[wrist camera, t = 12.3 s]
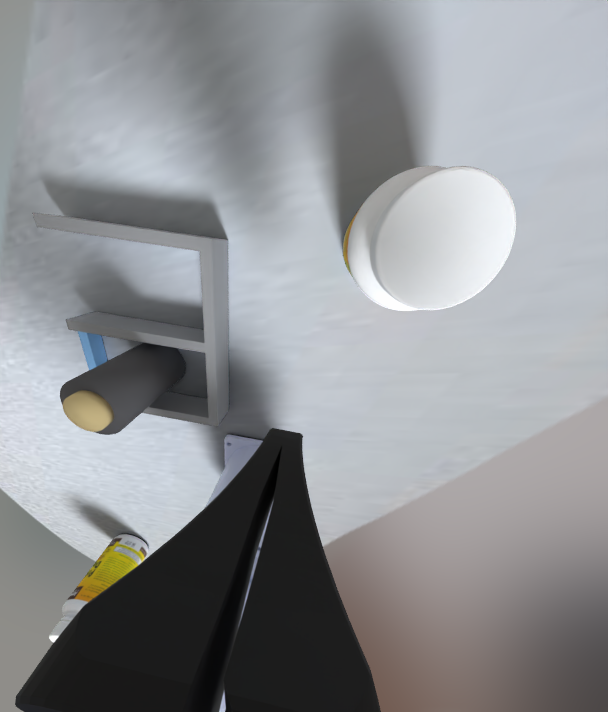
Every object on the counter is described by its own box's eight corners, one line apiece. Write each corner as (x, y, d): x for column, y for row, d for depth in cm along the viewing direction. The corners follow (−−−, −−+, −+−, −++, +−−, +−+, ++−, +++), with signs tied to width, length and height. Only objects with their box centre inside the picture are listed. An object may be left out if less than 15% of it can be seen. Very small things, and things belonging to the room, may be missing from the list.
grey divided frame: (229, 409, 23) (217, 426, 21) (106, 387, 24) (83, 401, 22) (227, 239, 17) (211, 238, 15) (61, 215, 18) (20, 211, 15)
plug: (187, 386, 23) (124, 446, 16) (143, 377, 23) (61, 433, 16) (183, 343, 21) (110, 391, 14) (135, 335, 21) (40, 378, 14)
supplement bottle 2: (328, 265, 17) (321, 288, 8) (369, 181, 15) (423, 84, 6) (394, 300, 17) (456, 356, 9) (444, 223, 15) (597, 193, 6)
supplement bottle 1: (119, 527, 35) (42, 627, 26) (154, 542, 36) (92, 646, 27) (112, 543, 37) (39, 641, 28) (145, 557, 38) (85, 657, 29)
